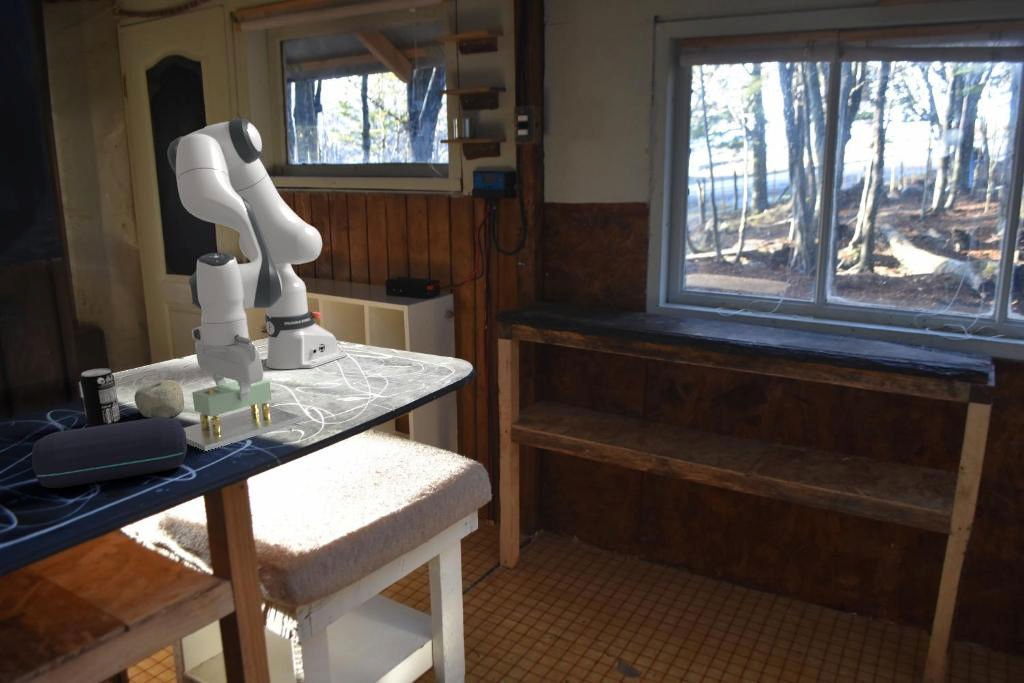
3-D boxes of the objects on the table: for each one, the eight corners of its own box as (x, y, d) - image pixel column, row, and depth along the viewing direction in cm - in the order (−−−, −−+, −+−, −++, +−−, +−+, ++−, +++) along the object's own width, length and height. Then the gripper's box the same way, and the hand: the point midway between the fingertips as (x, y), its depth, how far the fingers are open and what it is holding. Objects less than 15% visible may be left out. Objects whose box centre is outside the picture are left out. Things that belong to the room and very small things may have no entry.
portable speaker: (190, 456, 154) (183, 407, 152) (190, 474, 145) (183, 422, 143) (43, 480, 145) (33, 428, 143) (34, 500, 136) (23, 446, 134)
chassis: (265, 409, 181) (260, 367, 179) (300, 421, 172) (296, 377, 170) (171, 437, 165) (165, 391, 163) (205, 451, 156) (198, 403, 154)
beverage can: (89, 422, 177) (81, 370, 174) (122, 417, 179) (114, 366, 177) (85, 431, 171) (76, 377, 168) (119, 426, 173) (111, 373, 171)
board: (255, 394, 175) (253, 376, 174) (271, 399, 170) (269, 381, 169) (194, 410, 164) (192, 392, 163) (210, 416, 160) (208, 397, 159)
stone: (183, 386, 188) (179, 365, 180) (187, 425, 183) (182, 405, 175) (137, 393, 185) (130, 371, 177) (140, 432, 180) (132, 412, 172)
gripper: (267, 336, 159) (274, 401, 163) (215, 324, 173) (222, 385, 176) (238, 342, 155) (246, 410, 158) (187, 330, 168) (195, 392, 171)
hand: (233, 396), depth 167 cm, fingers closed on board, 6 cm apart
